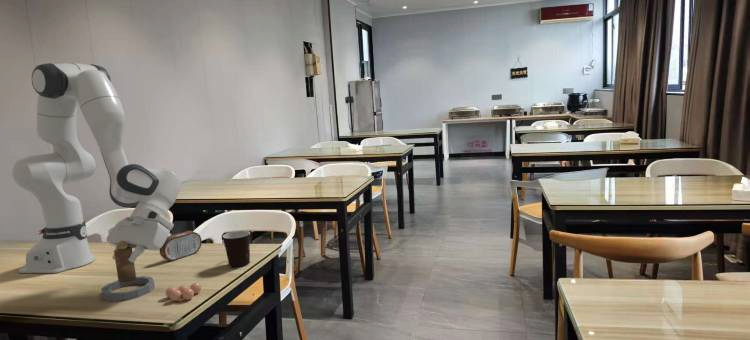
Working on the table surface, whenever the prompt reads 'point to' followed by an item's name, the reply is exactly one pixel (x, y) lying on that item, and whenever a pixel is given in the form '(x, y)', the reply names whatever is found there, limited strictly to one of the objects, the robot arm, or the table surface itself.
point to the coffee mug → (237, 248)
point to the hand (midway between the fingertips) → (122, 260)
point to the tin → (180, 245)
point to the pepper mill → (124, 263)
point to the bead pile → (183, 292)
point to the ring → (128, 294)
